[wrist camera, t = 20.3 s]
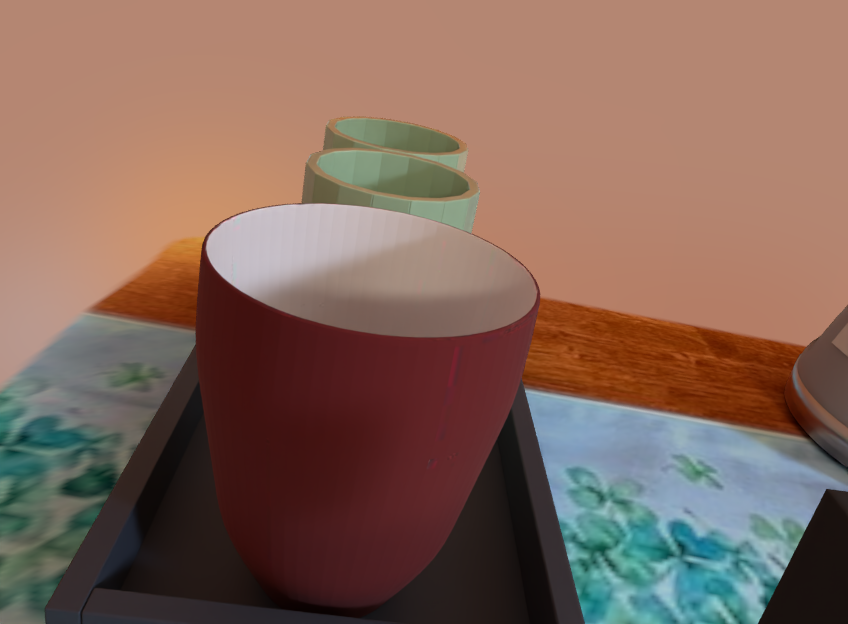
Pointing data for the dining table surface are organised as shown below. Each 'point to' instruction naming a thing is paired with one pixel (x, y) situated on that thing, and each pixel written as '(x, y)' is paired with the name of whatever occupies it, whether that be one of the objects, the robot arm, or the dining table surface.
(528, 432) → the tray
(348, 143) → the cup
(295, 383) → the mug
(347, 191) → the cup
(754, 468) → the dining table surface
